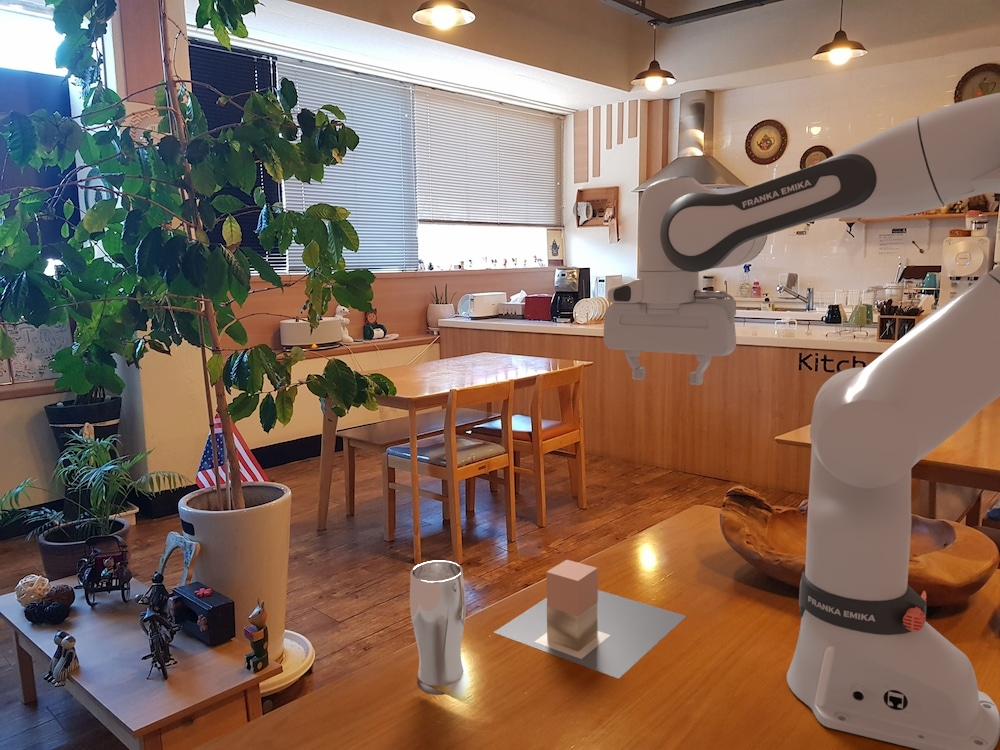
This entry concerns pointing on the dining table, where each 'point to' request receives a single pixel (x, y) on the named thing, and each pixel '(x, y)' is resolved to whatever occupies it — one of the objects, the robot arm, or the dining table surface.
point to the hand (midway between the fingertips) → (666, 381)
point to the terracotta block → (572, 587)
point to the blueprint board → (600, 633)
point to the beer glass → (438, 622)
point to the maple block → (572, 628)
